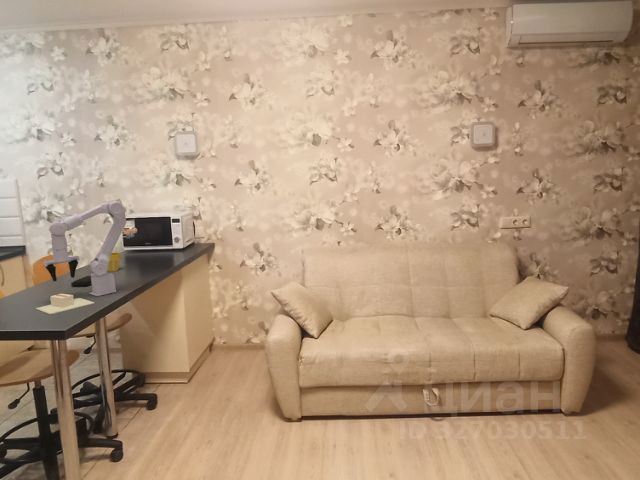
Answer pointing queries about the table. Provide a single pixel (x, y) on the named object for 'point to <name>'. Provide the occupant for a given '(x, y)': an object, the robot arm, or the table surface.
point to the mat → (54, 309)
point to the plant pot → (114, 262)
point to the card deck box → (62, 300)
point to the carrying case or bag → (82, 282)
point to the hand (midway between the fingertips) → (63, 279)
